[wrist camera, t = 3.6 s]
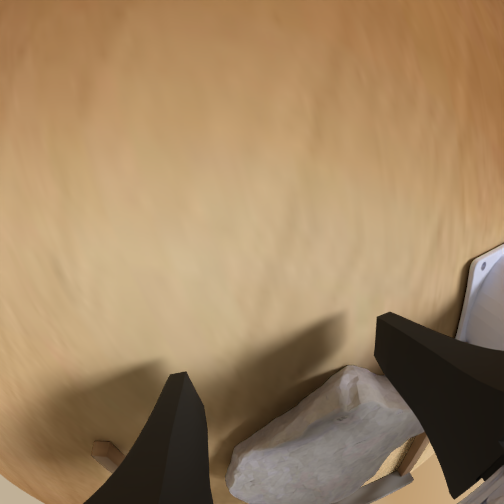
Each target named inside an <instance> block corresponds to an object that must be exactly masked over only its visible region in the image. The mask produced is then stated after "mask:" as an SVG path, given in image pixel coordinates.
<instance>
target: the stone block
mask: <svg viewBox="0 0 504 504" xmlns="http://www.w3.org/2000/svg"><path fill="white" fill-rule="evenodd" d="M423 432H424V429H423V428H422V426H421V424H420V422H419V420H418V419H417V417H416V416H415V414H414V413H413V411H412V410H411V409H410V407H409V406H408V405H407V404H406V402H405V401H404V400H403V398H402V397H401V396H400V394H399V393H398V392H397V390H396V389H395V388H394V386H393V385H392V384H391V382H390V381H389V380H388V378H387V377H386V376H385V375H384V376H381V375H376V374H374V373H372V372H370V371H369V370H368V369H366V368H361V367H357V366H355V365H347V366H346V367H344V368H343V369H341V370H340V371H338V372H337V373H335V374H334V375H332V376H331V377H330V378H329V379H328V380H327V381H326V382H325V383H324V384H323V385H322V386H321V387H320V388H318V389H316V390H315V391H314V392H312V393H310V394H309V395H308V396H307V397H306V398H304V399H303V400H302V401H301V402H300V403H299V404H298V405H297V406H296V407H294V408H293V409H291V410H289V411H288V412H286V413H285V414H283V415H282V416H279V417H277V418H275V419H274V420H272V421H271V422H270V423H269V424H268V425H266V426H265V427H263V428H262V429H260V430H258V431H257V432H256V433H254V434H253V435H252V436H251V437H249V438H248V439H246V440H244V441H243V442H241V443H239V444H238V445H237V446H235V448H234V451H233V455H232V459H231V463H230V465H229V467H228V469H227V473H226V475H225V481H226V485H227V487H228V488H229V492H230V493H231V494H232V495H233V496H234V497H236V498H238V499H240V500H242V501H244V502H247V503H249V504H331V503H335V502H338V501H340V500H342V499H344V498H346V497H347V496H349V495H351V494H352V493H354V492H355V491H356V490H358V489H359V488H360V487H361V486H362V485H363V484H364V483H365V482H366V481H368V480H369V479H370V478H371V477H373V476H374V475H375V474H376V472H377V471H378V470H379V468H380V467H381V465H382V463H383V462H384V461H385V459H386V458H387V457H388V456H389V455H390V453H391V452H392V451H394V450H395V449H396V448H398V447H400V446H401V445H402V444H403V443H404V442H405V441H406V440H408V439H409V438H411V437H413V436H416V435H419V434H421V433H423Z"/></svg>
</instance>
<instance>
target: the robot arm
mask: <svg viewBox="0 0 504 504" xmlns="http://www.w3.org/2000/svg"><path fill="white" fill-rule="evenodd" d="M466 342H467V343H466ZM374 356H375V358H376V360H377V362H378V364H379V366H380V367H381V369H382V371H383V373H384V374H385V376H386V377H387V378H388V380H389V381H390V382H391V384H392V385H393V386H394V388H395V389H396V390H397V392H398V393H399V394H400V396H401V397H402V398H403V400H404V401H405V402H406V404H407V405H408V406H409V407H410V409H411V410H412V411H413V413H414V414H415V416H416V417H417V419H418V420H419V422H420V424H421V426H422V428H423V429H424V431H425V433H426V435H427V437H428V439H429V441H430V443H431V445H432V447H433V449H434V451H435V453H436V455H437V458H438V461H439V463H440V465H441V468H442V471H443V473H444V476H445V479H446V482H447V486H448V489H449V493H450V494H451V496H452V498H453V499H456V498H457V497H458V496H460V495H461V494H463V493H464V492H465V491H466V490H468V489H469V488H470V487H471V486H473V485H474V484H475V483H476V482H478V481H479V480H480V479H481V478H483V480H484V481H485V482H484V483H483V484H481V485H480V486H479V487H478V488H477V489H476V490H475V491H473V492H472V493H470V494H469V495H468V496H467V497H465V498H464V499H463V500H462V501H460V502H459V503H457V504H504V244H502V245H501V246H499V247H497V248H495V249H493V250H491V251H489V252H487V253H485V254H484V255H482V256H480V257H478V258H476V259H474V260H473V262H472V263H471V266H470V271H469V277H468V283H467V289H466V295H465V300H464V305H463V309H462V314H461V318H460V322H459V326H458V330H457V334H456V338H455V339H454V338H451V337H448V336H446V335H443V334H441V333H438V332H436V331H433V330H431V329H429V328H426V327H424V326H422V325H420V324H417V323H415V322H413V321H411V320H408V319H406V318H404V317H402V316H399V315H397V314H394V313H392V312H388V313H385V314H383V315H380V316H378V317H377V323H376V338H375V350H374ZM83 504H213V499H212V494H211V489H210V479H209V457H208V429H207V422H206V416H205V409H204V405H203V403H202V401H201V399H200V398H199V396H198V394H197V392H196V390H195V388H194V386H193V384H192V382H191V380H190V378H189V376H188V374H187V372H181V373H175V374H170V376H169V377H168V379H167V381H166V384H165V386H164V388H163V390H162V392H161V395H160V397H159V399H158V401H157V403H156V405H155V407H154V409H153V411H152V413H151V415H150V417H149V419H148V421H147V423H146V425H145V426H144V428H143V430H142V432H141V433H140V435H139V437H138V439H137V440H136V442H135V444H134V445H133V447H132V448H131V450H130V451H129V453H128V454H127V456H126V457H125V458H124V460H123V461H122V463H121V464H120V465H119V466H118V468H117V469H116V470H115V471H114V473H113V474H112V475H111V476H110V477H109V479H108V480H107V481H106V482H105V483H104V484H103V485H102V486H101V487H100V488H99V489H98V490H97V491H96V492H95V493H94V494H93V495H92V496H91V497H90V498H89V499H88V500H87V501H86V502H84V503H83Z"/></svg>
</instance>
